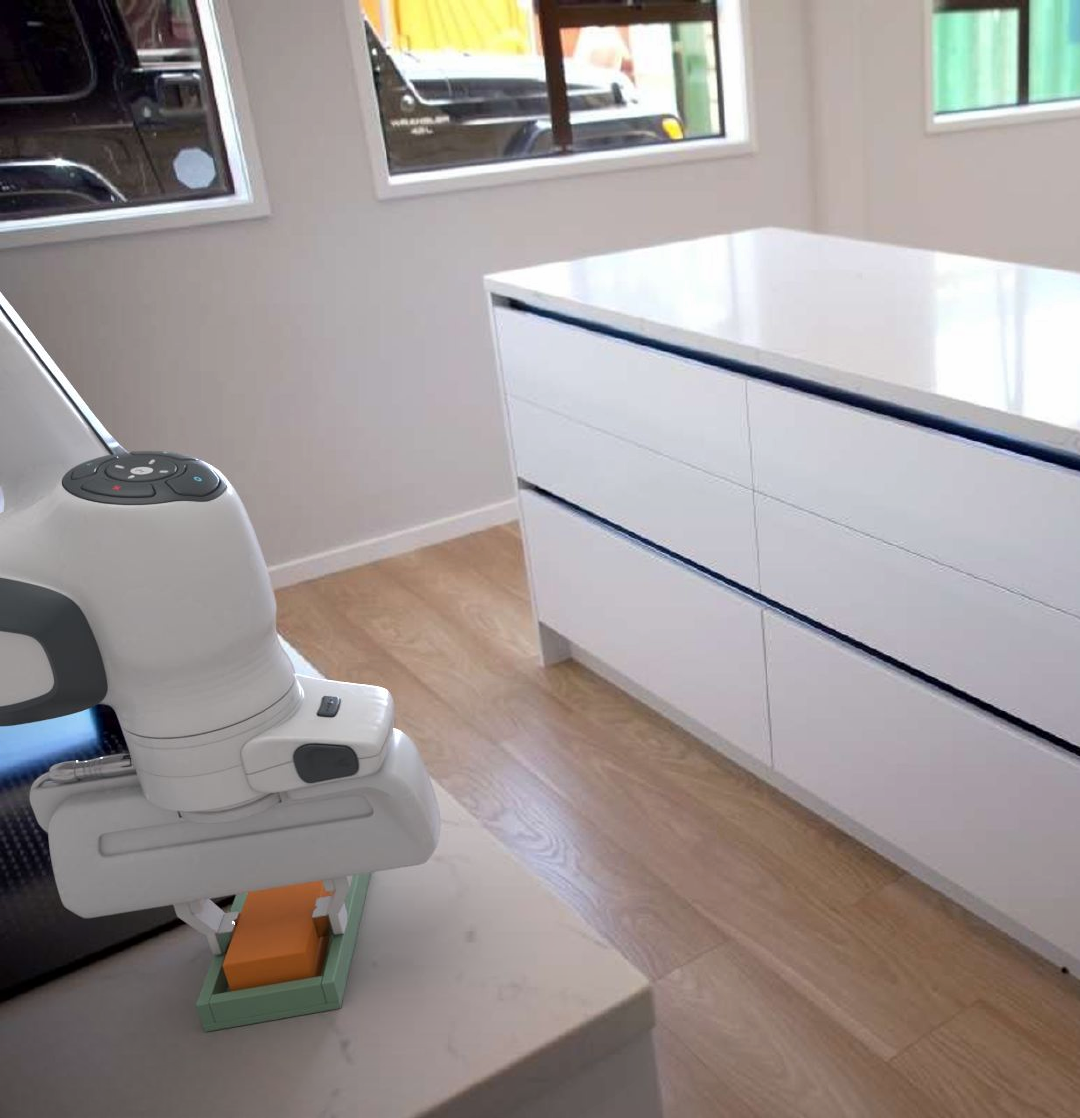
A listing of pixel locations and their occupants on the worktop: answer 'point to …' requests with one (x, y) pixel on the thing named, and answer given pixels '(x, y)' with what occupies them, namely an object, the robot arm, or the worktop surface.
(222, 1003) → the tray
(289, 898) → the orange block
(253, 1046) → the worktop surface
